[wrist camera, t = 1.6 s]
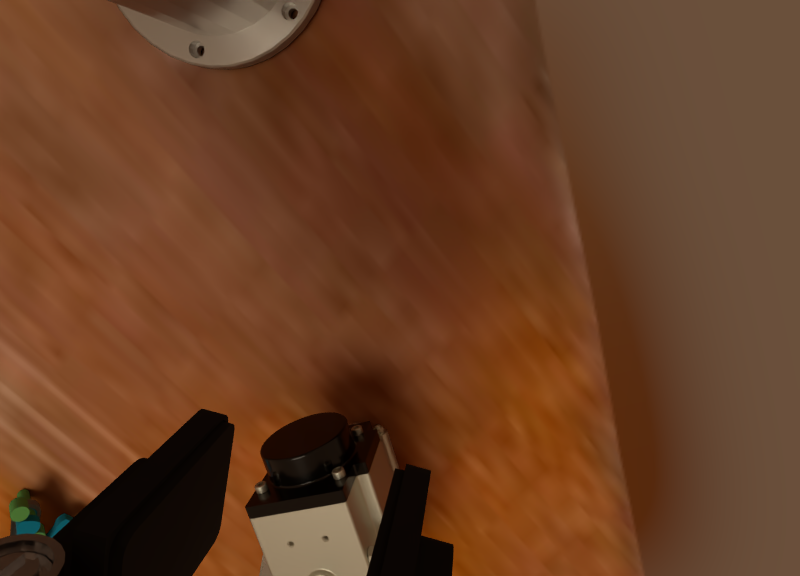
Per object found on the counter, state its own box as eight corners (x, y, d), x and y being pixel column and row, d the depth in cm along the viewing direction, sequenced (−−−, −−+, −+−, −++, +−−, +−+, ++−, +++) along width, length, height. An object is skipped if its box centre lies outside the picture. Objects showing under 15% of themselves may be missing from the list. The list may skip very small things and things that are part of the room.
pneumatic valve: (362, 537, 37) (309, 713, 26) (307, 378, 35) (221, 494, 23) (442, 524, 36) (423, 702, 24) (391, 359, 34) (344, 472, 22)
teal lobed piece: (104, 635, 40) (-76, 694, 34) (90, 586, 45) (-72, 630, 39) (115, 494, 39) (-71, 528, 33) (99, 458, 44) (-67, 482, 37)
